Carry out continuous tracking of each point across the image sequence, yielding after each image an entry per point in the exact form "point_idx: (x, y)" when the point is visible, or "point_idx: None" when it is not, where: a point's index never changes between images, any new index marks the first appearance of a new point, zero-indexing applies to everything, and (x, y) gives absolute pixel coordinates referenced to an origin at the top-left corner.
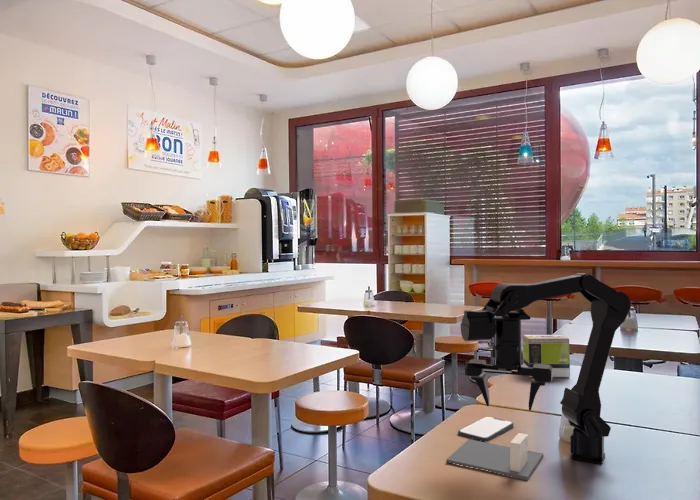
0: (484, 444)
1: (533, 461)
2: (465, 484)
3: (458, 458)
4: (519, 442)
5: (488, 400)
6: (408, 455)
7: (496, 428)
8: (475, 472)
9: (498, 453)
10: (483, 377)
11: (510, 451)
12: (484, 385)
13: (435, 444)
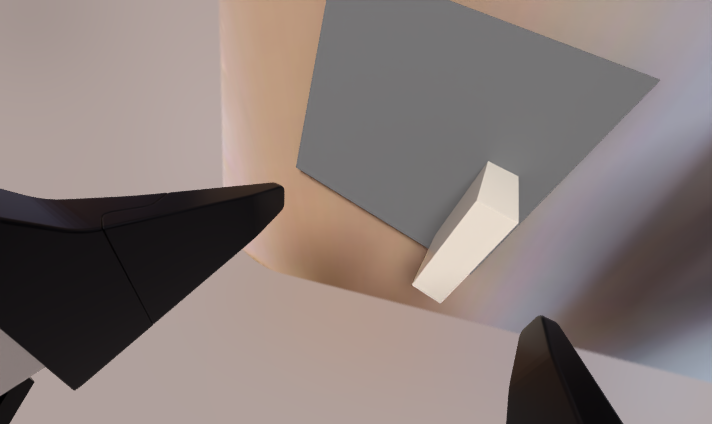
0: (389, 13)
1: (542, 179)
2: (341, 259)
3: (318, 161)
4: (444, 291)
5: (256, 229)
6: (232, 125)
7: None
8: (358, 214)
9: (426, 111)
10: (52, 372)
11: (420, 266)
12: (144, 331)
13: (256, 26)
